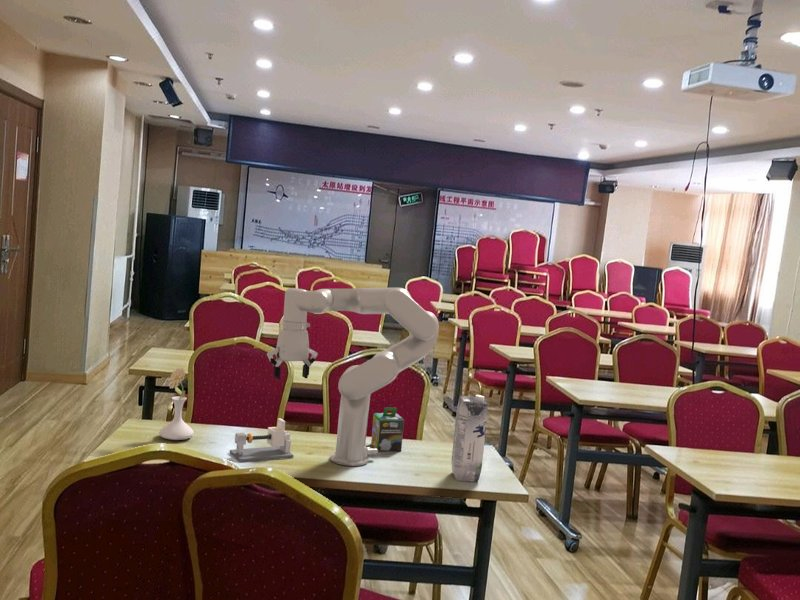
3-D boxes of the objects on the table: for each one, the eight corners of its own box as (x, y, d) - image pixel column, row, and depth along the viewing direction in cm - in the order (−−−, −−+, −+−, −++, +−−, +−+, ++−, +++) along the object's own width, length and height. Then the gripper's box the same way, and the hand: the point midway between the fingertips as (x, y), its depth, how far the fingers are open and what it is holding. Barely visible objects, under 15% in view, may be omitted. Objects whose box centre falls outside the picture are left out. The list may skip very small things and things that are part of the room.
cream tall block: (278, 441, 244) (280, 417, 243) (283, 445, 239) (286, 421, 239) (266, 442, 241) (268, 418, 241) (272, 446, 237) (274, 422, 237)
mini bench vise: (281, 448, 247) (283, 428, 247) (293, 457, 239) (295, 436, 238) (229, 452, 238) (231, 431, 237) (240, 462, 229) (241, 440, 229)
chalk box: (394, 443, 267) (398, 403, 266) (402, 451, 258) (406, 410, 257) (369, 443, 264) (373, 403, 263) (376, 451, 255) (381, 409, 254)
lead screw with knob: (285, 438, 244) (286, 430, 244) (289, 441, 241) (290, 432, 241) (239, 442, 235) (240, 432, 235) (242, 444, 233) (243, 435, 233)
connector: (241, 452, 236) (243, 432, 236) (244, 455, 234) (246, 435, 233) (233, 453, 235) (235, 433, 234) (237, 455, 232) (238, 435, 232)
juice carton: (453, 481, 231) (462, 397, 228) (449, 471, 241) (457, 390, 239) (481, 483, 231) (490, 399, 229) (475, 472, 242) (484, 392, 240)
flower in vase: (158, 433, 251) (163, 361, 249) (192, 433, 255) (197, 362, 253) (159, 444, 239) (164, 369, 237) (195, 444, 243) (201, 370, 241)
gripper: (314, 325, 247) (311, 375, 249) (265, 324, 239) (262, 376, 240) (323, 328, 241) (319, 379, 242) (273, 327, 232) (269, 381, 234)
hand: (291, 377), depth 241 cm, fingers open, 9 cm apart
